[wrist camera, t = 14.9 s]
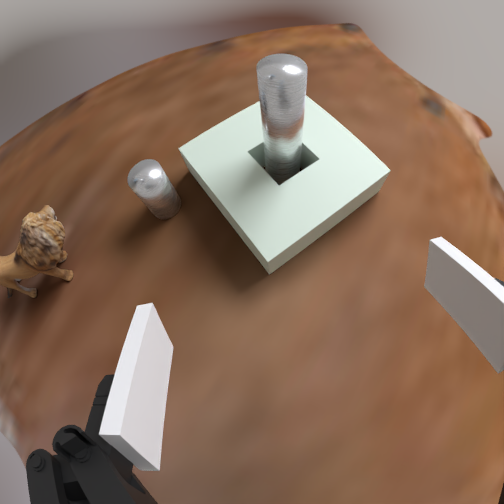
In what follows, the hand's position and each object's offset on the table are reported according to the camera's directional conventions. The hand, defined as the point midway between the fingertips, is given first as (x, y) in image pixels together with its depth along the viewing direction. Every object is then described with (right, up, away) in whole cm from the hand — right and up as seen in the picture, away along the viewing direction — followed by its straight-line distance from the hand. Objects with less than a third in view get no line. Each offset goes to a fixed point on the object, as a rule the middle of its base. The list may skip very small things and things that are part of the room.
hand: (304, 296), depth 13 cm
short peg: (-11, +7, +17) cm, 21 cm away
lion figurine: (-26, 0, +16) cm, 30 cm away
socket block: (+1, +9, +16) cm, 19 cm away
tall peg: (+1, +9, +16) cm, 19 cm away
